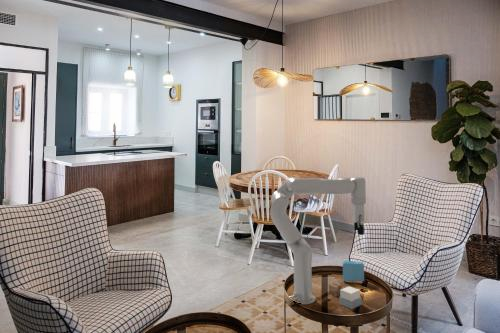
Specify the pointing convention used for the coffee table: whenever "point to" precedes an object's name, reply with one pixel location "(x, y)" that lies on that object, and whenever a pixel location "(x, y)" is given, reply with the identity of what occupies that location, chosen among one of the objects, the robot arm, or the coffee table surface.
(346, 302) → the tower base
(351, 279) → the data package
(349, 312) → the coffee table surface
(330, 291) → the walnut cube
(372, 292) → the coffee table surface
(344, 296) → the tower top
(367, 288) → the coffee table surface
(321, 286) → the coffee table surface
